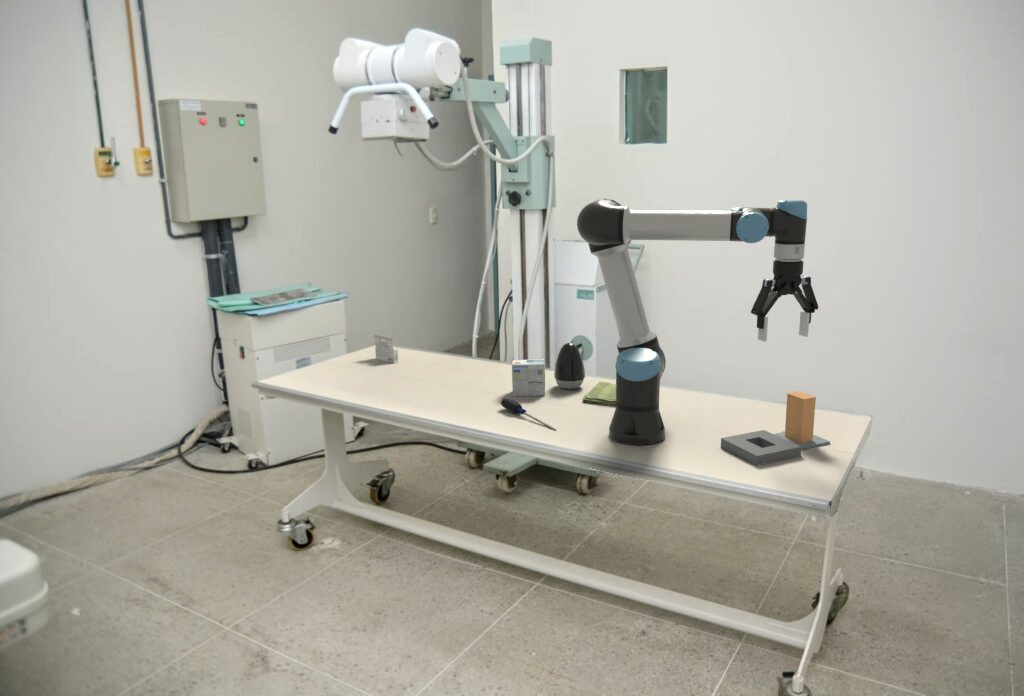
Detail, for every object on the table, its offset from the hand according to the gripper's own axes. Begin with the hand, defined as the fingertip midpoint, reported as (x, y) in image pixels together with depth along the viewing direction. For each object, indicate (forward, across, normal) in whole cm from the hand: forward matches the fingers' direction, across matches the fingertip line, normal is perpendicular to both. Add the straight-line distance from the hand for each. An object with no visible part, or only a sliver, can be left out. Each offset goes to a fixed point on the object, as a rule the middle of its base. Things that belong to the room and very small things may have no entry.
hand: (782, 338), depth 213 cm
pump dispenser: (+27, -35, +61) cm, 75 cm away
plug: (+25, -1, -10) cm, 27 cm away
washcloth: (+27, -28, +46) cm, 60 cm away
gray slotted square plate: (+26, -15, -12) cm, 32 cm away
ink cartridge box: (+28, -84, +123) cm, 151 cm away
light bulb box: (+27, -50, +60) cm, 83 cm away
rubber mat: (+26, 0, -10) cm, 28 cm away
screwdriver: (+27, -60, +36) cm, 75 cm away
